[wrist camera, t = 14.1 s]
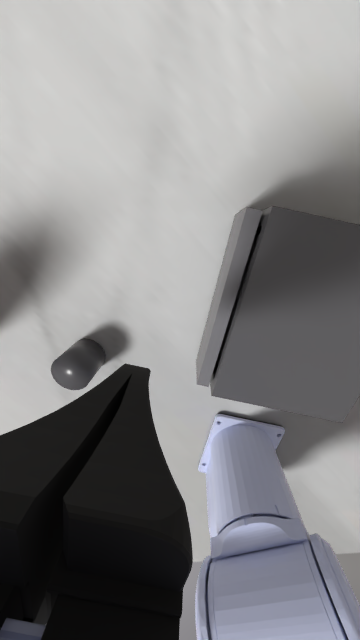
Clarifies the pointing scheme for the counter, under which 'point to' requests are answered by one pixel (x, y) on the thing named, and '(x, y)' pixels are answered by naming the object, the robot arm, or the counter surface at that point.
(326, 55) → the counter surface
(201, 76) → the counter surface
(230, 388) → the grey drawer box
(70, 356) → the grey rounded piece
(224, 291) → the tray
